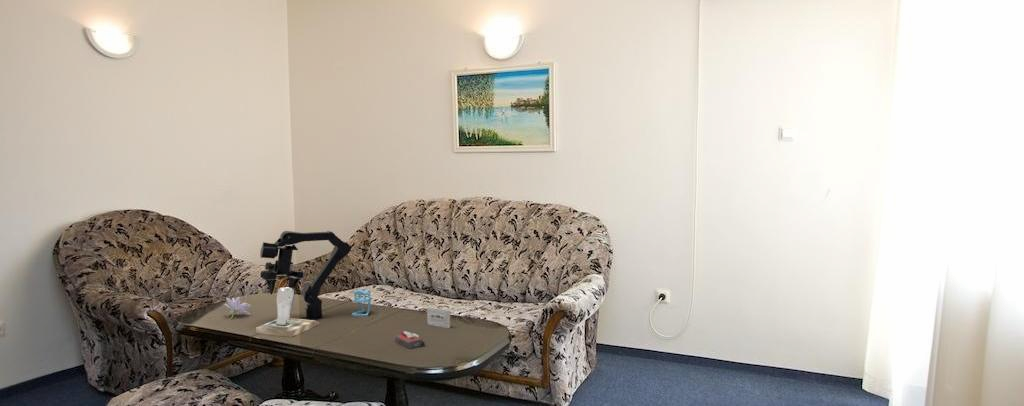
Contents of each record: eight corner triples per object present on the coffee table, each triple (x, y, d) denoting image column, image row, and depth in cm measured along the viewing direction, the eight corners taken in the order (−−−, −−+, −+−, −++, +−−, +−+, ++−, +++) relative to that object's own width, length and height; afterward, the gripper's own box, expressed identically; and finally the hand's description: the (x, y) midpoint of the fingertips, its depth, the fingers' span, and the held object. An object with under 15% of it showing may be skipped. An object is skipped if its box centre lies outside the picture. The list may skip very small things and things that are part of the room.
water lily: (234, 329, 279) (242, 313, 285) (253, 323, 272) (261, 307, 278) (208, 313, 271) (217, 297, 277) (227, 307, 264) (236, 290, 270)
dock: (286, 321, 268) (285, 313, 267) (319, 324, 262) (319, 316, 262) (256, 333, 250) (255, 324, 250) (291, 337, 244) (290, 328, 244)
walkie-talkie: (429, 346, 232) (405, 334, 248) (429, 335, 232) (405, 323, 247) (409, 351, 227) (386, 338, 242) (409, 339, 226) (386, 327, 242)
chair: (374, 311, 282) (373, 287, 281) (367, 316, 274) (366, 291, 273) (359, 311, 283) (358, 286, 282) (351, 315, 275) (350, 290, 274)
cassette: (451, 327, 255) (450, 310, 255) (448, 328, 254) (448, 311, 253) (429, 323, 261) (428, 306, 261) (426, 324, 260) (426, 307, 259)
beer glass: (279, 326, 249) (282, 291, 248) (271, 322, 254) (274, 287, 253) (294, 324, 254) (297, 289, 254) (287, 320, 259) (289, 286, 258)
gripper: (291, 256, 277) (287, 288, 277) (255, 256, 261) (250, 291, 261) (306, 260, 270) (301, 293, 271) (270, 260, 255) (265, 296, 255)
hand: (280, 293), depth 264 cm, fingers open, 9 cm apart
